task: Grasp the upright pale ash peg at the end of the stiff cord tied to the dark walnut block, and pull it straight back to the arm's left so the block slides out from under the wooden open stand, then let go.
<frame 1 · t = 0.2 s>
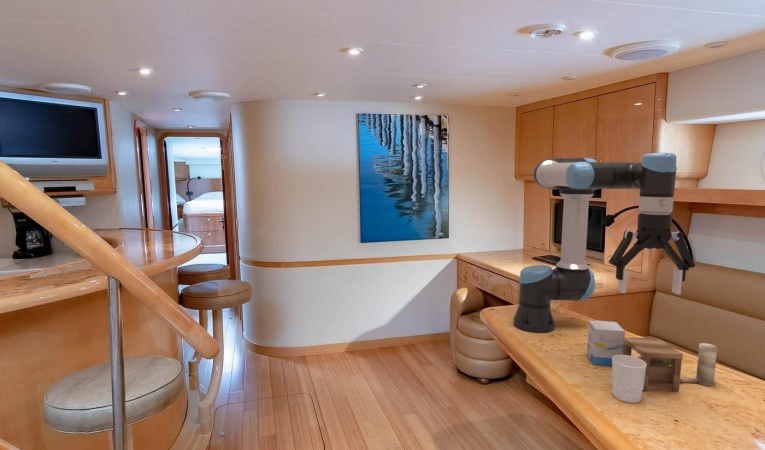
hand: (648, 292, 113), 28 cm above the table, fingers open, 13 cm apart
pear: (658, 359, 137), on the table
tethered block: (652, 381, 121), on the table
white cup: (626, 397, 113), on the table
wooden open stand: (648, 381, 121), on the table
ink box: (604, 360, 135), on the table
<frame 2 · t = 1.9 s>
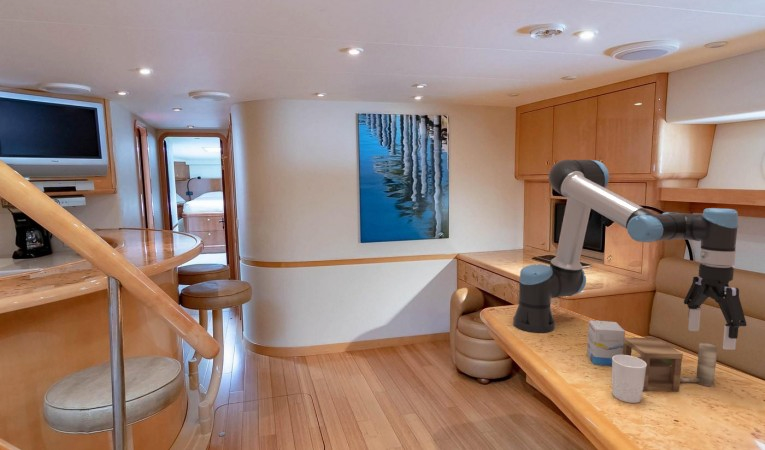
hand: (710, 339, 119), 13 cm above the table, fingers open, 13 cm apart
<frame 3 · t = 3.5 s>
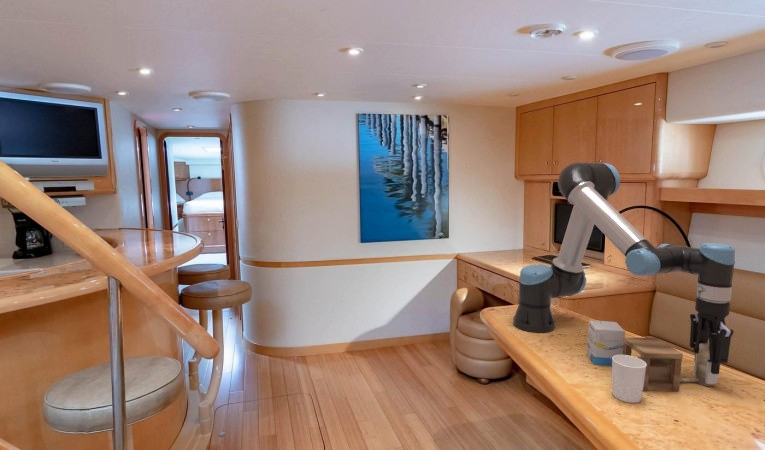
hand: (705, 379, 121), 1 cm above the table, fingers closed on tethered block, 4 cm apart
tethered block: (652, 381, 121), on the table, touching gripper
everything else where it was.
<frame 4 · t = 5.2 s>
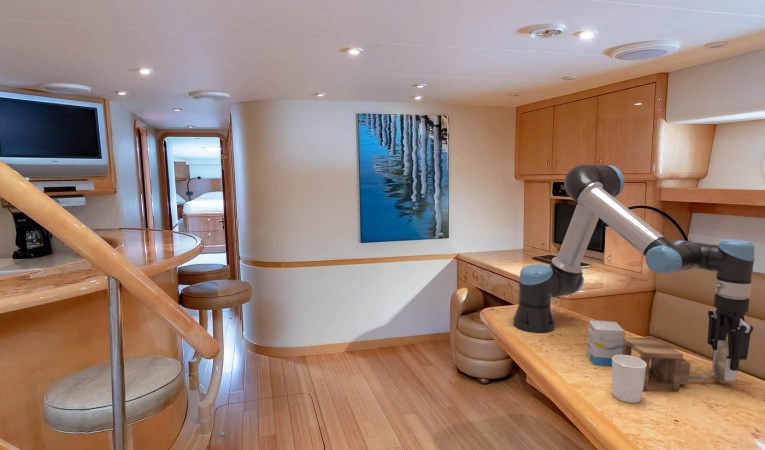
hand: (723, 375, 120), 2 cm above the table, fingers closed on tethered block, 4 cm apart
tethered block: (670, 378, 121), point 1 cm above the table, touching gripper
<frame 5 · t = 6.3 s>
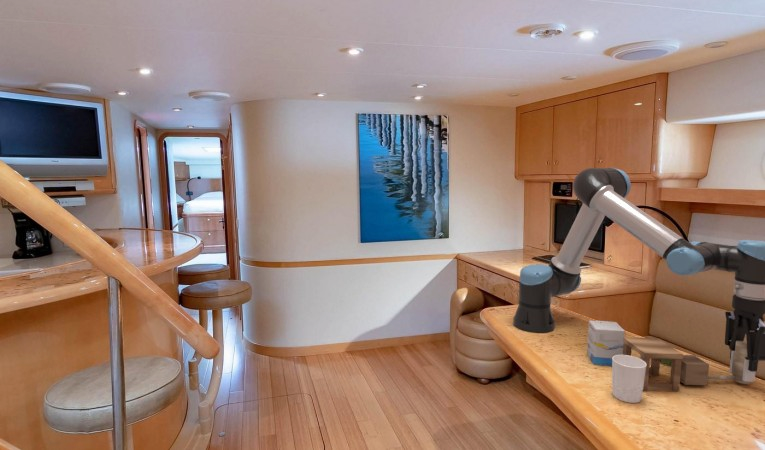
hand: (741, 376, 120), 2 cm above the table, fingers closed on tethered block, 4 cm apart
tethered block: (688, 379, 121), point 1 cm above the table, touching gripper
when the fingers open (1 cm above the table, at t = 7.2 s): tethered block stays where it is, on the table.
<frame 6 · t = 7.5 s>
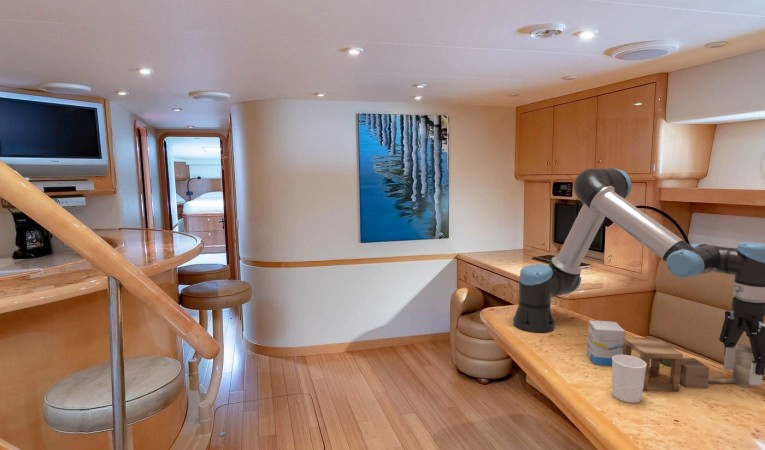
hand: (741, 376, 120), 2 cm above the table, fingers open, 8 cm apart
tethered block: (688, 382, 121), on the table
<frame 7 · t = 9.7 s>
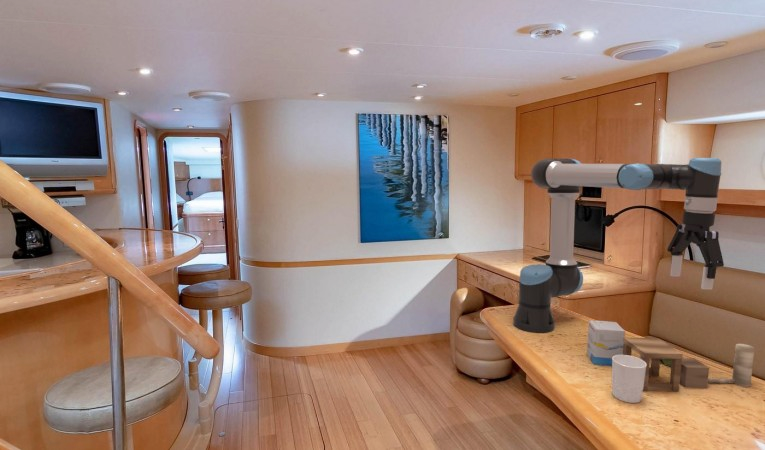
hand: (690, 282, 126), 27 cm above the table, fingers open, 13 cm apart
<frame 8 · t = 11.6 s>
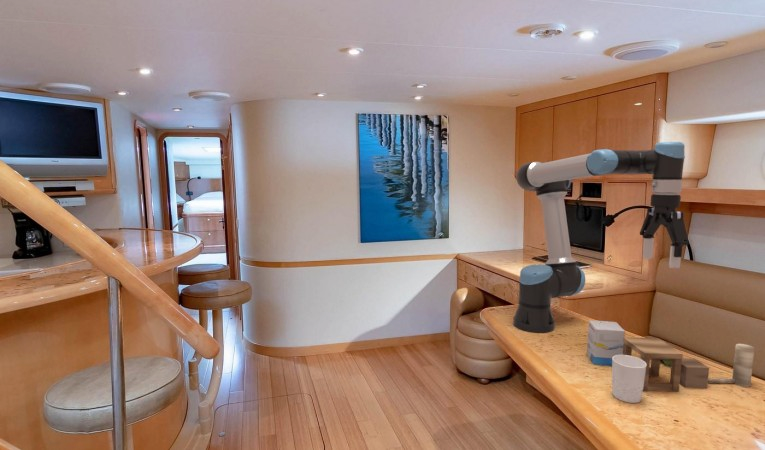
hand: (660, 262, 131), 32 cm above the table, fingers open, 13 cm apart
at the end: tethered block inside the target area on the table beside the wooden open stand (3.7 cm from its centre), on the table; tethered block tilted 0°; the gripper is holding nothing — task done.
